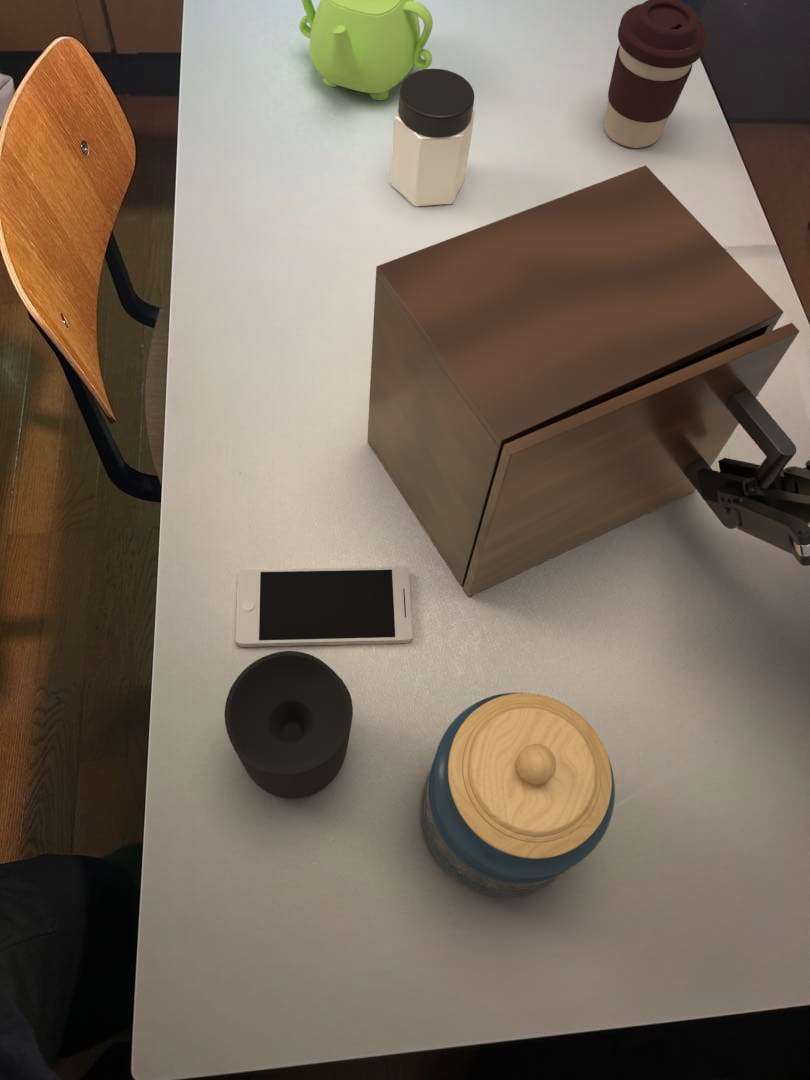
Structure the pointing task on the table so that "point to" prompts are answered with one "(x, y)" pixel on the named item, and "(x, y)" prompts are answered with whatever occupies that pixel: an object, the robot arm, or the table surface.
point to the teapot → (367, 42)
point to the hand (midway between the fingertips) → (713, 478)
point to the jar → (432, 136)
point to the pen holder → (289, 723)
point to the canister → (516, 794)
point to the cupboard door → (627, 459)
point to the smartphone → (323, 607)
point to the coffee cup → (651, 69)
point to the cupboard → (539, 335)
